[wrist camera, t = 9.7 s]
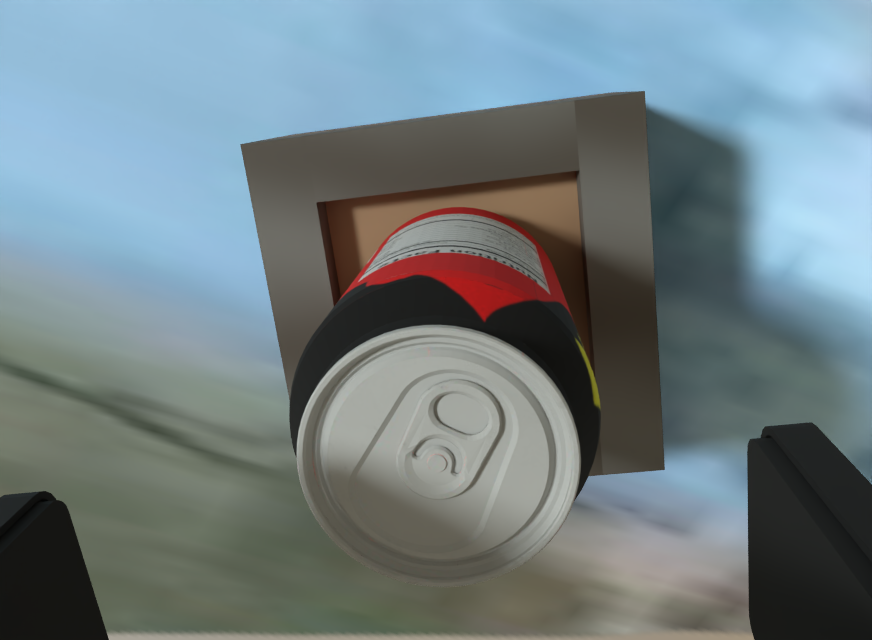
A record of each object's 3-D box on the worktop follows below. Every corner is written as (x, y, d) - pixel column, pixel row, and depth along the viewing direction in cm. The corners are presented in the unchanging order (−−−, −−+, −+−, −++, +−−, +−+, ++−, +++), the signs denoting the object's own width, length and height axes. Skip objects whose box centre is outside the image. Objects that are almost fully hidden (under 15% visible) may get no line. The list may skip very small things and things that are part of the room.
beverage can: (338, 342, 26) (216, 535, 14) (411, 169, 24) (339, 232, 13) (507, 416, 26) (520, 663, 15) (591, 251, 24) (681, 386, 13)
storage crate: (291, 134, 29) (240, 144, 23) (612, 92, 28) (644, 91, 22) (342, 425, 32) (308, 499, 26) (631, 398, 31) (664, 469, 25)
